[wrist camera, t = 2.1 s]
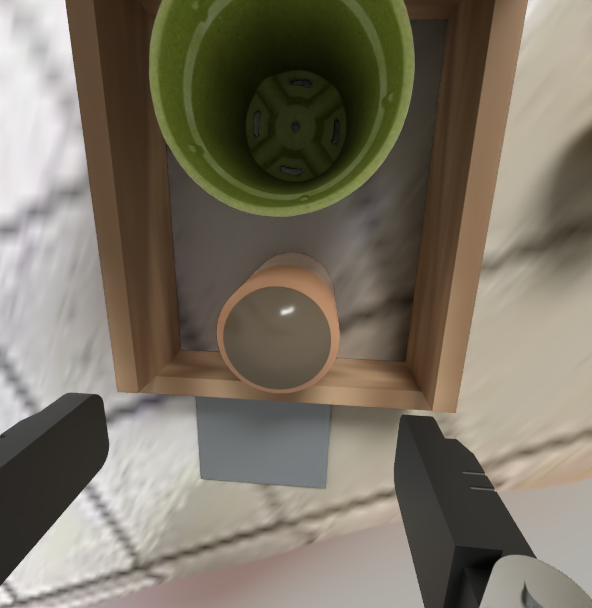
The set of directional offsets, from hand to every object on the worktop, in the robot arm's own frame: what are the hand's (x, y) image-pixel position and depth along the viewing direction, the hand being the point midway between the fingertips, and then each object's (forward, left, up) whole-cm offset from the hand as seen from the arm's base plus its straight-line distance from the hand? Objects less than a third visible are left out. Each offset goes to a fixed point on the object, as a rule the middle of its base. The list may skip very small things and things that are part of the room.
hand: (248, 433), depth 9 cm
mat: (-2, -11, -15) cm, 19 cm away
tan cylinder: (0, 0, -15) cm, 15 cm away
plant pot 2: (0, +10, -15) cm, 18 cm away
